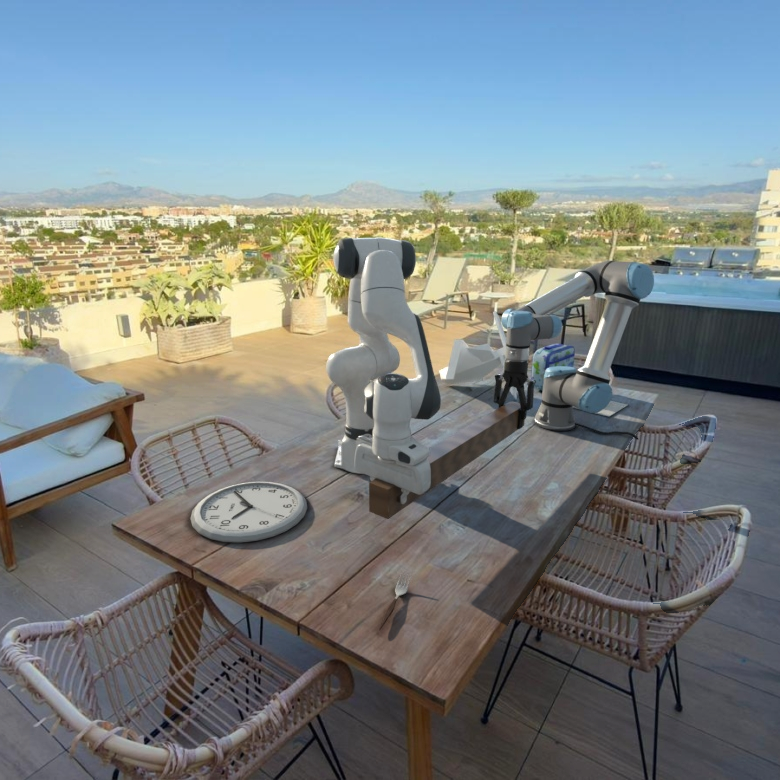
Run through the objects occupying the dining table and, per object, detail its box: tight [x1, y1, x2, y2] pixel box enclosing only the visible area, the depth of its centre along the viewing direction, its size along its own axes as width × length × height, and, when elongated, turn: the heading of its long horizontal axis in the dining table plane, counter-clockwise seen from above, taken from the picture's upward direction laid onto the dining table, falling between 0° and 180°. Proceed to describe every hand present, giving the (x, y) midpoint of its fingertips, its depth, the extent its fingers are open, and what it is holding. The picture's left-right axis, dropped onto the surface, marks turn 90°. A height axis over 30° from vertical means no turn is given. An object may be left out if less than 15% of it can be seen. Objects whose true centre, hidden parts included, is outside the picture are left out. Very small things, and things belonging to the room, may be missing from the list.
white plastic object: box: [438, 310, 528, 400], centre depth 245 cm, size 37×45×31 cm
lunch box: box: [530, 343, 576, 391], centre depth 249 cm, size 26×11×21 cm, turn 134°
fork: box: [379, 571, 412, 631], centre depth 105 cm, size 3×16×2 cm, turn 160°
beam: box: [368, 400, 526, 520], centre depth 150 cm, size 77×6×8 cm, turn 143°
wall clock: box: [190, 481, 308, 544], centre depth 139 cm, size 30×2×30 cm
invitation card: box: [573, 400, 629, 418], centre depth 226 cm, size 21×1×15 cm
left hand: (390, 497), depth 125 cm, fingers closed on beam, 5 cm apart
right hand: (511, 425), depth 177 cm, fingers closed on beam, 6 cm apart
